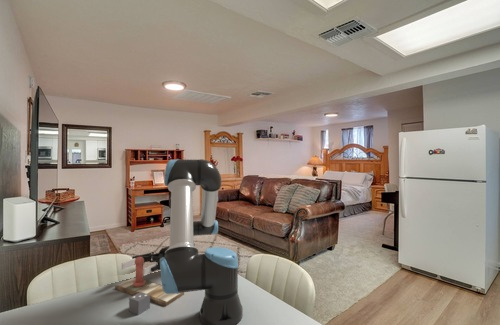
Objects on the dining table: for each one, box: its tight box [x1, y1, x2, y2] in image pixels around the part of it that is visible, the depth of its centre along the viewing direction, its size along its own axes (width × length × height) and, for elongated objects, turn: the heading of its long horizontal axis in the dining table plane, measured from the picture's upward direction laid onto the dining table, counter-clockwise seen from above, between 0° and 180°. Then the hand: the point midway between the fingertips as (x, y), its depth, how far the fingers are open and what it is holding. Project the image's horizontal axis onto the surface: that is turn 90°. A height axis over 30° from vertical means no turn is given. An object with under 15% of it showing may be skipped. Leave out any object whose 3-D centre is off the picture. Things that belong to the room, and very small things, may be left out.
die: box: [128, 292, 151, 316], centre depth 93 cm, size 5×5×5 cm
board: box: [114, 276, 185, 307], centre depth 107 cm, size 30×10×1 cm, turn 63°
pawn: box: [133, 257, 146, 288], centre depth 110 cm, size 5×5×12 cm
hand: (132, 269), depth 107 cm, fingers open, 13 cm apart
